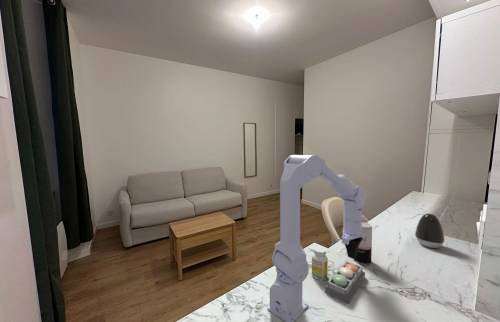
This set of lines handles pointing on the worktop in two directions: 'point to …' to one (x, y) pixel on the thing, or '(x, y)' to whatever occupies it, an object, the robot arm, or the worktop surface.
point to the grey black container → (365, 245)
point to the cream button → (346, 272)
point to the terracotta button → (352, 267)
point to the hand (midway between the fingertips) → (351, 257)
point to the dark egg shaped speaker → (429, 231)
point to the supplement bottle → (319, 263)
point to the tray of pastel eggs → (351, 288)
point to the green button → (340, 280)
